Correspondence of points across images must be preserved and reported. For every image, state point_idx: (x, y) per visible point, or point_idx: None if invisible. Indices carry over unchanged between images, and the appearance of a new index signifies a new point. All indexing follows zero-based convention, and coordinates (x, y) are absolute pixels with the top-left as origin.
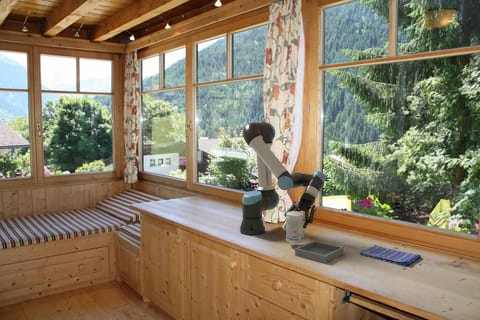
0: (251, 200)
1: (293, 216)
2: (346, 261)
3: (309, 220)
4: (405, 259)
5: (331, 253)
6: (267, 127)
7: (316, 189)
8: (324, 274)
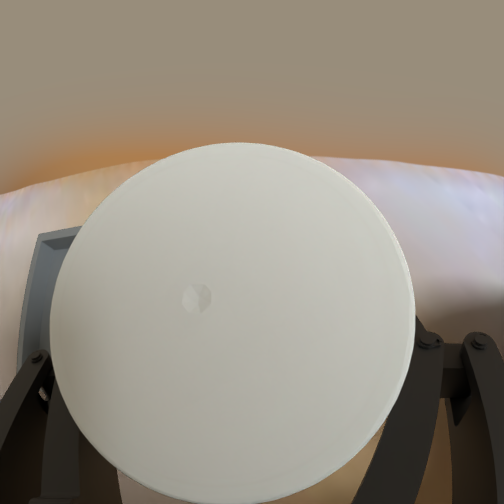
0: None
1: (153, 171)
2: (16, 313)
3: (41, 353)
4: None
5: (28, 278)
6: None
7: None
8: (49, 183)
